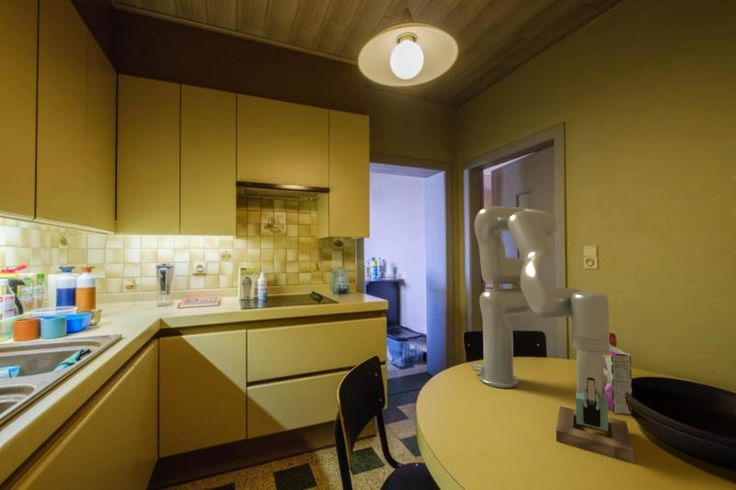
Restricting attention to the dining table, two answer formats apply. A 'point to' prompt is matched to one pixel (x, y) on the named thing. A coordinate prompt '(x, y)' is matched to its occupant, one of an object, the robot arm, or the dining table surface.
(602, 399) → the teal cube
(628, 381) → the candy bar box
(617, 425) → the walnut puzzle board
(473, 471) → the dining table surface
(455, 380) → the dining table surface
